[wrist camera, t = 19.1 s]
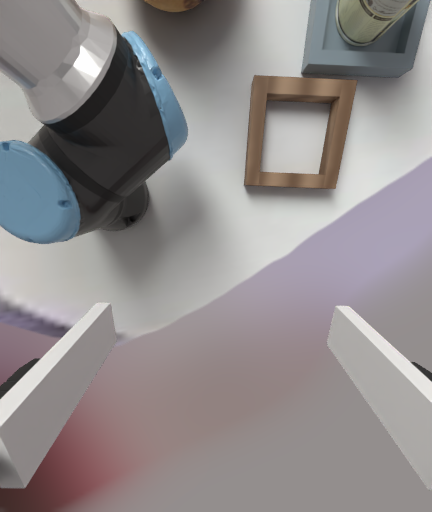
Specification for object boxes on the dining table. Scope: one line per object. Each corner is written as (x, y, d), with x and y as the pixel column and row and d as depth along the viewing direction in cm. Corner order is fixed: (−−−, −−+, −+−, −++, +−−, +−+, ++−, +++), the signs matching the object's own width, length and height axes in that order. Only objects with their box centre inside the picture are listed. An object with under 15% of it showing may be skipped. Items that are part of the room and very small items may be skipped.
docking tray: (301, 73, 39) (308, 63, 36) (319, -65, 33) (329, -90, 30) (397, 77, 39) (412, 68, 36) (431, -59, 33) (452, -83, 30)
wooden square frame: (243, 185, 44) (245, 184, 42) (251, 83, 39) (254, 75, 36) (327, 188, 45) (335, 188, 42) (347, 88, 39) (357, 80, 36)
